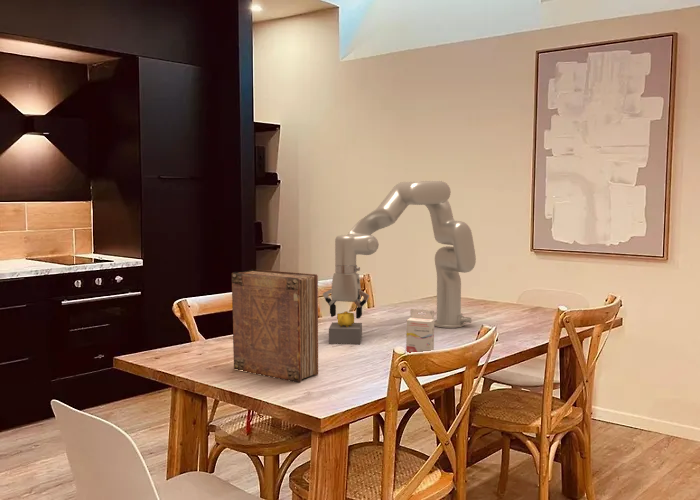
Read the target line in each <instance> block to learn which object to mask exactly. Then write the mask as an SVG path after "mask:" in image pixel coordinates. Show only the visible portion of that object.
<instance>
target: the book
mask: <svg viewBox="0 0 700 500" xmlns="http://www.w3.org/2000/svg"><path fill="white" fill-rule="evenodd" d="M318 279H319V275H318V273H317V274H316V273H303V272H292V271H291V272H290V271H280V270H269V269H268V270H266V269H265V270H264V269H255V268H254V269H253V268H252V269H246V270H241V271H239V270H238V271H234V272H232V273H231V302H232V343H233V347H232V349H233V351H232V352H233V370H234V369H238V370H243V371H247V372H246V373H248V372H251V373H250V374H253V373H256V374H255V375H258V374H261V375H260V376H263V375H265V377H268V376H270V377H269V378H273V377H275V378H274V379H278V378H280V379H279V380H283V379H285V380H284V381H288V380H290V381H289V382H293V381H294V383H301V382H302V380H303V379H306V378H309V377H311V376H318V375H319V282H318V281H319V280H318Z"/></svg>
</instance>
